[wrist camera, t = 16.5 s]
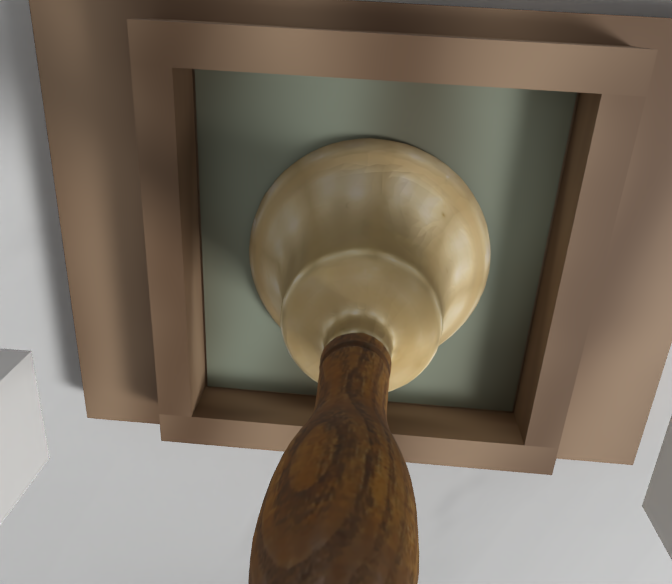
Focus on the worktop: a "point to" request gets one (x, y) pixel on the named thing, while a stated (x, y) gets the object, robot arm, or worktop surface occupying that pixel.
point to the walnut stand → (357, 123)
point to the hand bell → (358, 346)
